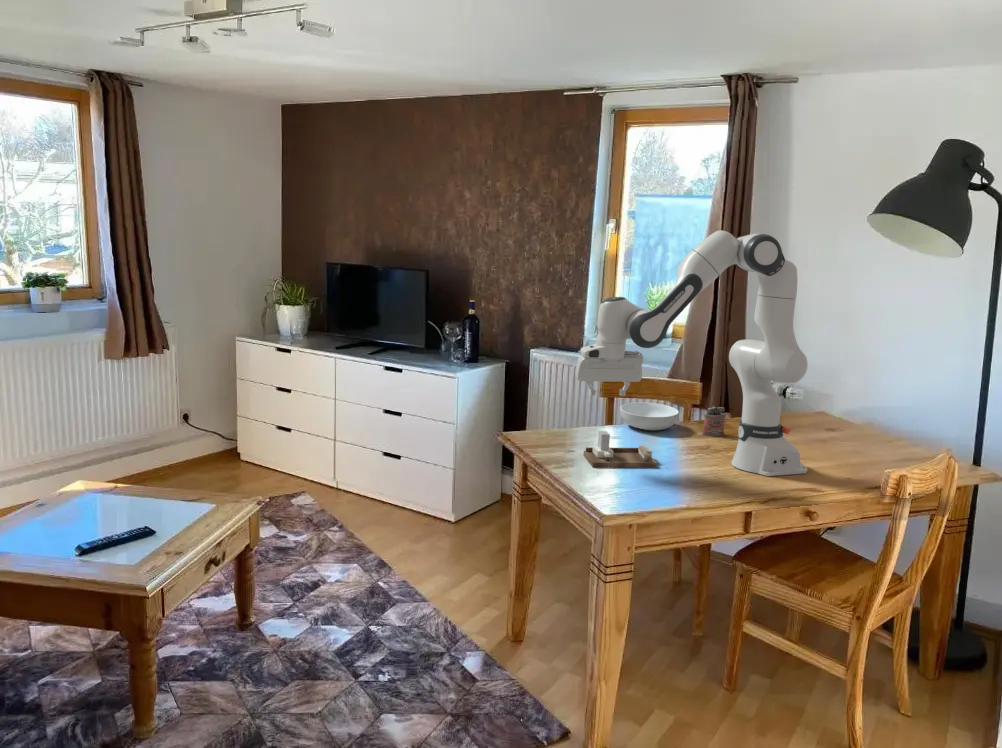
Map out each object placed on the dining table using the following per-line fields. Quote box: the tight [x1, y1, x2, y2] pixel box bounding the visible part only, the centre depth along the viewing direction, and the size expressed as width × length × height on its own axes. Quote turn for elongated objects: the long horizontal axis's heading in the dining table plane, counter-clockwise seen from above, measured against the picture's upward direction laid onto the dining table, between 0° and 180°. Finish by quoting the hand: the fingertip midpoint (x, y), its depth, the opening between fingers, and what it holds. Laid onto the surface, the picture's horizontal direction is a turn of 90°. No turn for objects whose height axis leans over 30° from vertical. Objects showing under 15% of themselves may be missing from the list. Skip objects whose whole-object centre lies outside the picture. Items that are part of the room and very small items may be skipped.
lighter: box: [701, 406, 727, 437], centre depth 283 cm, size 8×3×10 cm, turn 104°
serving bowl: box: [619, 401, 680, 432], centre depth 289 cm, size 21×21×7 cm
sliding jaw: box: [592, 430, 614, 460], centre depth 246 cm, size 5×9×7 cm, turn 8°
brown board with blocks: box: [582, 445, 658, 469], centre depth 248 cm, size 20×12×4 cm, turn 98°
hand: (607, 395), depth 245 cm, fingers open, 8 cm apart
